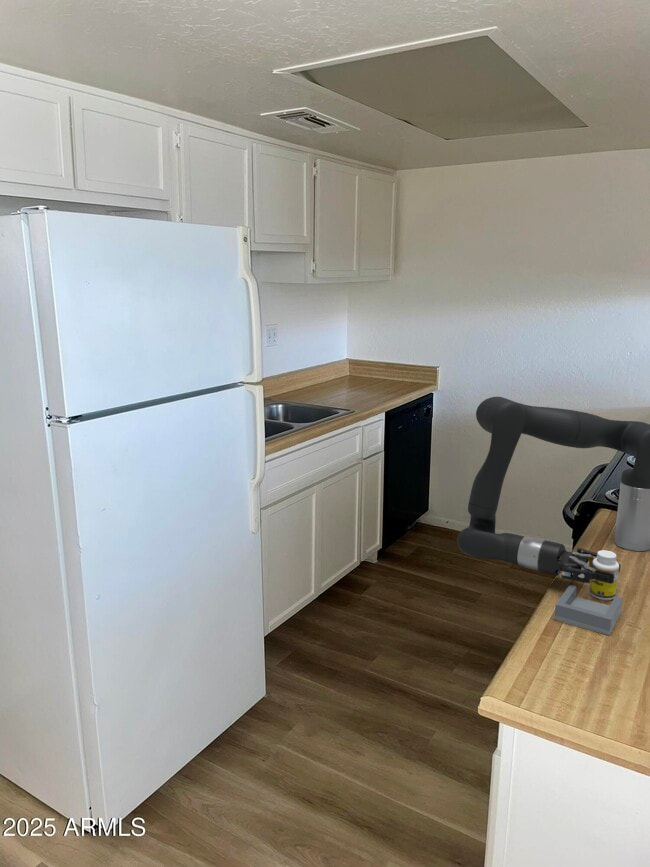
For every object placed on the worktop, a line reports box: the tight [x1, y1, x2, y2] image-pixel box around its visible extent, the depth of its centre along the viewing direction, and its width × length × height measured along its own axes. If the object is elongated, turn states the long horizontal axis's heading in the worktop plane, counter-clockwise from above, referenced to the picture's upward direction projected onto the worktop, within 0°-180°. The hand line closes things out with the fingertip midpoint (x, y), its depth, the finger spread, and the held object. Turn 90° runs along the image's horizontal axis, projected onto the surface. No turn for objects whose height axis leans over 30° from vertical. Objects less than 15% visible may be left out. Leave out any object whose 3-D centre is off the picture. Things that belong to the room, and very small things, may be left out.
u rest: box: [553, 584, 623, 636], centre depth 140 cm, size 11×11×4 cm
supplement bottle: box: [588, 549, 620, 601], centre depth 148 cm, size 6×6×10 cm
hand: (616, 573), depth 147 cm, fingers closed on supplement bottle, 5 cm apart
